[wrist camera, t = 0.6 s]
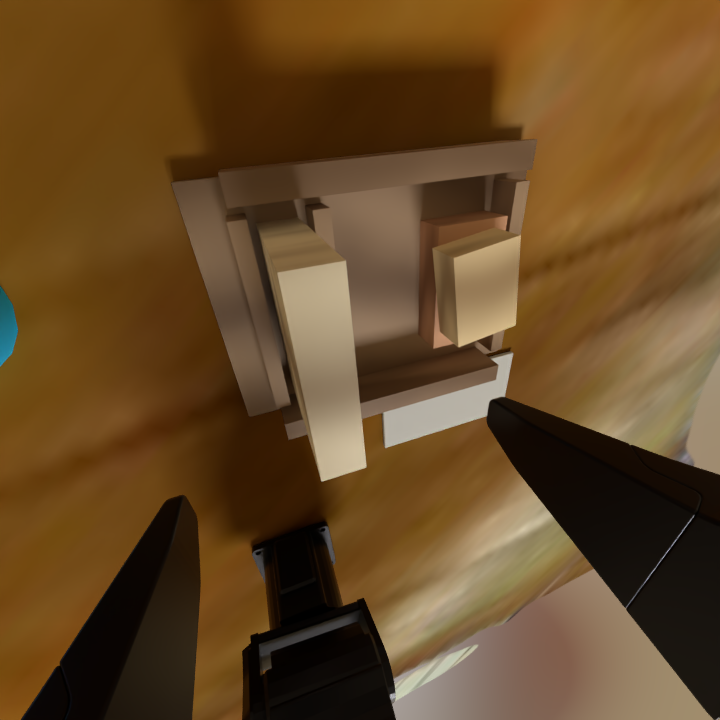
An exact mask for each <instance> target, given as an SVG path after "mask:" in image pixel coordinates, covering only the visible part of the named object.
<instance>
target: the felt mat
mask: <svg viewBox="0 0 720 720" xmlns="http://www.w3.org/2000/svg"><path fill="white" fill-rule="evenodd" d="M512 356H513V352H511V351H509V352H505V353H502V354H498V355H494V356H491V357H489V358H490V359H492V360H493V361H494V362H495V363H497V364H498V365H499V366H498V372H497V377H496V380H494V381H490V382H487V383H483V384H480V385H477V386H473V387H470V388H466V389H463V390H459V391H456V392H452V393H449V394H446V395H442V396H439V397H435V398H432V399H428V400H425V401H421V402H418V403H415V404H411V405H408V406H404V407H401V408H397V409H394V410H390V411H387V412H384V413H382V421H383V439H384V447H385V448H387V447H390V446H393V445H396V444H399V443H403V442H406V441H409V440H412V439H415V438H418V437H422V436H425V435H428V434H431V433H434V432H437V431H441V430H444V429H447V428H450V427H453V426H456V425H460V424H463V423H466V422H469V421H472V420H475V419H479V418H482V417H485V416H487V412H488V406H489V402H490V400H492V399H495V398H498V397H505V392H506V387H507V382H508V377H509V372H510V367H511V362H512Z"/></svg>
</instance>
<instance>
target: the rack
mask: <svg viewBox="0 0 720 720" xmlns="http://www.w3.org/2000/svg"><path fill="white" fill-rule="evenodd" d="M536 144H537V139H530V140H502V141H491V142H482V143H472V144H462V145H452V146H443V147H433V148H423V149H413V150H404V151H394V152H384V153H375V154H365V155H355V156H345V157H336V158H326V159H316V160H306V161H297V162H287V163H277V164H268V165H258V166H248V167H238V168H229V169H219V171H218V175H219V177H210V178H201V179H192V180H182V181H173V182H172V183H171V184H172V187H173V190H174V193H175V196H176V199H177V202H178V205H179V208H180V211H181V214H182V217H183V220H184V223H185V226H186V229H187V232H188V235H189V238H190V241H191V244H192V247H193V250H194V253H195V256H196V259H197V262H198V265H199V268H200V271H201V274H202V277H203V280H204V283H205V286H206V289H207V292H208V295H209V298H210V301H211V304H212V307H213V310H214V313H215V316H216V319H217V322H218V325H219V328H220V331H221V334H222V337H223V340H224V343H225V346H226V349H227V352H228V355H229V358H230V361H231V364H232V367H233V370H234V373H235V376H236V379H237V382H238V385H239V388H240V391H241V394H242V397H243V400H244V403H245V406H246V409H247V412H248V415H249V417H252V416H256V415H260V414H263V413H267V412H271V411H275V410H278V409H281V410H282V415H283V419H284V424H285V428H286V432H287V435H288V439H289V440H291V439H294V438H297V437H301V436H304V435H308V434H307V430H306V427H305V424H304V420H303V417H302V413H301V410H300V407H299V403H298V400H297V396H296V393H295V390H294V386H293V383H292V379H291V375H290V371H289V366H288V362H287V357H286V353H285V349H284V344H283V340H282V336H281V331H280V327H279V322H278V318H277V314H276V309H275V305H274V300H273V296H272V292H271V287H270V283H269V279H268V274H267V270H266V265H265V261H264V257H263V252H262V248H261V243H260V239H259V235H258V230H257V226H256V223H262V222H269V221H276V220H283V219H290V218H297V217H298V218H299V219H301V220H302V221H303V222H304V223H305V224H306V225H307V226H308V227H309V228H311V229H312V230H313V231H314V232H315V233H316V234H317V235H318V236H319V237H320V238H322V239H323V240H324V241H325V242H326V243H327V244H328V245H329V246H330V247H332V248H333V249H334V250H335V251H336V252H337V253H338V254H339V255H340V256H341V257H343V258H344V259H345V260H346V266H347V276H348V286H349V296H350V306H351V316H352V327H353V337H354V347H355V357H356V367H357V377H358V387H359V397H360V408H361V418H362V419H363V418H366V417H370V416H373V415H377V414H380V413H384V412H387V411H390V410H394V409H397V408H401V407H404V406H408V405H411V404H415V403H418V402H421V401H425V400H428V399H432V398H435V397H439V396H442V395H446V394H449V393H452V392H456V391H459V390H463V389H466V388H470V387H473V386H477V385H480V384H483V383H487V382H490V381H494V380H496V377H497V372H498V366H499V365H498V364H497V363H495V362H494V361H493V360H492V359H490V358H489V357H488V356H487V355H485V354H488V353H491V352H495V351H497V350H499V349H501V347H502V341H503V335H504V330H502V331H500V332H497V333H494V334H492V335H489V336H487V337H484V338H482V339H479V340H477V341H474V342H471V343H469V344H466V345H464V346H461V347H457V346H456V345H455V344H450V345H446V346H442V347H438V348H434V349H433V348H432V347H431V346H430V345H429V344H428V343H427V342H426V341H425V340H424V339H423V338H422V337H421V336H419V335H418V324H419V268H420V220H426V219H432V218H438V217H445V216H451V215H458V214H464V213H471V212H477V211H483V210H485V211H489V212H494V213H498V214H502V215H507V216H508V218H507V225H506V231H508V232H512V233H515V234H519V235H521V229H522V224H523V218H524V212H525V206H526V200H527V194H528V188H529V183H530V180H525V179H526V173H527V170H530V169H532V167H533V161H534V155H535V150H536Z"/></svg>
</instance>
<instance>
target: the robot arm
mask: <svg viewBox="0 0 720 720" xmlns="http://www.w3.org/2000/svg"><path fill="white" fill-rule="evenodd" d="M486 420H487V424H488V427H489V428H490V430H491V431H492V433H493V435H494V436H495V438H496V439H497V441H498V442H499V444H500V446H501V447H502V449H503V450H504V452H505V453H506V455H507V457H508V458H509V460H510V461H511V463H512V464H513V466H514V467H515V468H516V470H517V471H518V472H519V474H520V475H521V476H522V478H523V479H524V480H525V481H526V483H527V484H528V485H529V487H530V488H531V489H532V490H533V492H534V493H535V494H536V495H537V497H538V498H539V499H540V500H541V502H542V503H543V504H544V506H545V507H546V508H547V509H548V511H549V512H550V513H551V514H552V516H553V517H554V518H555V520H556V521H557V522H558V523H559V525H560V526H561V527H562V528H563V530H564V531H565V532H566V534H567V535H568V536H569V537H570V539H571V540H572V541H573V542H574V544H575V545H576V546H577V548H578V549H579V550H580V551H581V553H582V554H583V555H584V556H585V558H586V559H587V560H588V562H589V563H590V564H591V565H592V567H593V568H594V569H595V570H596V572H597V573H598V574H599V576H600V577H601V578H602V579H603V581H604V582H605V583H606V584H607V586H608V587H609V588H610V589H611V591H612V592H613V593H614V595H615V596H616V597H617V598H618V599H619V601H620V602H621V603H622V605H623V606H624V607H625V608H627V609H626V610H627V611H628V613H629V614H630V615H631V617H632V618H633V619H634V620H635V622H636V623H637V624H638V625H639V627H640V628H641V629H642V630H643V632H644V633H645V634H646V636H647V637H648V638H649V639H650V641H651V642H652V643H653V644H654V646H655V647H656V648H657V650H658V651H659V652H660V653H661V655H662V656H663V657H664V658H665V660H666V661H667V662H668V663H669V665H670V666H671V667H672V669H673V670H674V671H675V672H676V674H677V675H678V676H679V678H680V679H681V680H682V681H683V683H684V684H685V685H686V686H687V688H688V689H689V690H690V691H691V693H692V694H693V695H694V697H695V698H696V699H697V700H698V702H699V703H700V704H701V705H702V707H703V708H704V709H705V710H706V712H707V713H708V714H709V715H710V716H711V717H712V718H713V719H714V720H718V719H720V475H719V474H715V473H713V472H709V471H706V470H703V469H700V468H697V467H694V466H691V465H688V464H685V463H682V462H678V461H675V460H672V459H669V458H667V457H664V456H661V455H658V454H656V453H653V452H650V451H647V450H644V449H642V448H639V447H637V446H634V445H629V444H628V443H626V442H623V441H620V440H618V439H615V438H612V437H610V436H607V435H604V434H602V433H599V432H596V431H594V430H591V429H588V428H586V427H583V426H580V425H578V424H575V423H572V422H570V421H567V420H564V419H562V418H559V417H556V416H554V415H551V414H548V413H546V412H543V411H540V410H538V409H535V408H532V407H530V406H527V405H524V404H522V403H519V402H516V401H514V400H511V399H508V398H506V397H498V398H495V399H492V400H490V402H489V406H488V412H487V419H486ZM252 556H253V558H254V560H255V562H256V564H257V566H258V569H259V571H260V573H261V575H262V577H263V579H264V582H265V584H266V594H267V604H268V615H269V625H270V631H267V632H264V633H261V634H258V633H256V634H253V635H251V644H249V646H247V647H246V648H245V649H244V650H243V651H242V656H243V712H242V720H396V718H395V714H394V711H393V706H392V703H394V702H395V685H394V680H393V675H392V670H391V666H390V663H389V659H388V656H387V653H386V650H385V648H384V645H383V643H382V640H381V638H380V635H379V633H378V631H377V628H376V626H375V623H374V621H373V619H372V616H371V614H370V612H369V609H368V607H367V604H366V602H365V600H364V598H361V599H358V600H357V602H354V603H351V604H348V605H345V606H343V603H342V599H341V595H340V591H339V588H338V584H337V580H336V576H335V572H334V568H333V564H335V556H334V552H333V547H332V543H331V538H330V533H329V529H328V525H327V523H326V522H322V523H319V524H316V525H313V526H310V527H307V528H304V529H302V530H299V531H296V532H293V533H290V534H287V535H285V536H282V537H279V538H276V539H273V540H270V541H268V542H265V543H262V544H259V545H256V546H254V547H253V548H252ZM199 602H200V558H199V539H198V521H197V516H196V513H195V512H194V510H193V508H192V506H191V504H190V503H189V501H188V499H187V497H186V496H184V495H180V496H177V497H173V498H170V499H168V500H166V501H165V503H164V504H163V505H162V507H161V508H160V510H159V512H158V513H157V515H156V516H155V518H154V519H153V521H152V522H151V524H150V525H149V527H148V528H147V530H146V531H145V533H144V534H143V536H142V537H141V539H140V540H139V542H138V543H137V545H136V546H135V548H134V550H133V551H132V553H131V554H130V556H129V557H128V559H127V560H126V562H125V563H124V565H123V566H122V568H121V569H120V571H119V572H118V574H117V575H116V577H115V578H114V580H113V581H112V583H111V585H110V586H109V588H108V589H107V591H106V592H105V594H104V595H103V597H102V598H101V600H100V601H99V603H98V604H97V606H96V607H95V609H94V610H93V612H92V613H91V615H90V616H89V618H88V619H87V621H86V623H85V624H84V626H83V627H82V629H81V630H80V632H79V633H78V635H77V636H76V638H75V639H74V641H73V642H72V644H71V645H70V647H69V648H68V650H67V651H66V653H65V654H64V656H63V657H62V659H61V661H60V666H57V667H56V668H55V669H54V671H53V672H52V674H51V675H50V677H49V679H48V680H47V682H46V683H45V685H44V686H43V688H42V689H41V691H40V692H39V694H38V695H37V697H36V698H35V699H34V701H33V702H32V704H31V705H30V707H29V708H28V710H27V711H26V713H25V714H24V716H23V717H22V719H21V720H192V710H193V695H194V680H195V664H196V649H197V633H198V618H199ZM269 668H271V669H269ZM266 669H268V670H266ZM264 670H266V672H265V674H263V671H264Z"/></svg>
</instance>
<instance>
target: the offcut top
mask: <svg viewBox="0 0 720 720" xmlns="http://www.w3.org/2000/svg"><path fill="white" fill-rule="evenodd" d="M520 241H521V235H519V234H515V233H512V232H508V231H505V230H501V229H498V228H491V229H488V230H485V231H482V232H479V233H476V234H473V235H470V236H467V237H464V238H461V239H458V240H455V241H452V242H449V243H446V244H443V245H440V246H437V247H434V248H432V250H433V261H434V272H435V284H436V295H437V306H438V317H439V329H440V332H441V333H442V334H443V335H444V336H445V337H447V338H448V339H449V340H450V341H451V342H453V343H454V344H455V345H456V346H457V347H461V346H464V345H466V344H469V343H471V342H474V341H477V340H479V339H482V338H484V337H487V336H489V335H492V334H494V333H497V332H500V331H502V330H505V329H507V328H510V327H512V326H515V325H516V309H517V292H518V275H519V258H520Z"/></svg>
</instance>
